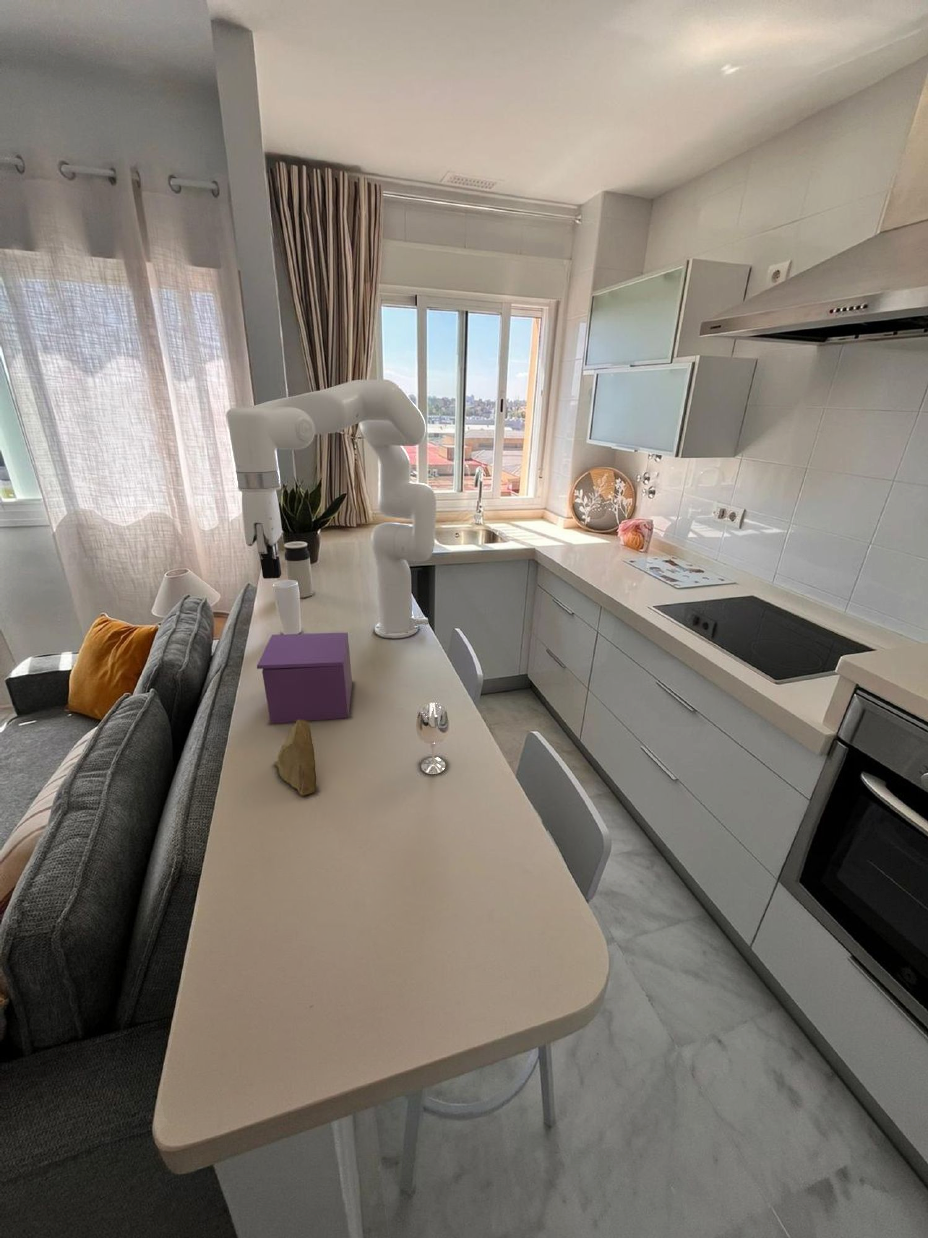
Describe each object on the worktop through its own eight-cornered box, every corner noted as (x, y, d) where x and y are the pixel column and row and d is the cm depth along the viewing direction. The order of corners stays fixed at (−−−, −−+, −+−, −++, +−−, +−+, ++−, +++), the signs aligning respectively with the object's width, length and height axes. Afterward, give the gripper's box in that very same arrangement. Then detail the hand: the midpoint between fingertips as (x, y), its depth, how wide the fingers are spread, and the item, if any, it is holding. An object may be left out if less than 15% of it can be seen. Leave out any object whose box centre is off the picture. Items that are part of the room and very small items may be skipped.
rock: (330, 785, 81) (336, 741, 90) (292, 757, 77) (301, 715, 86) (282, 816, 84) (292, 770, 92) (242, 791, 80) (257, 746, 88)
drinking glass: (296, 638, 139) (290, 588, 134) (274, 636, 141) (267, 586, 135) (308, 629, 146) (302, 580, 140) (287, 627, 147) (280, 578, 141)
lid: (257, 669, 96) (256, 665, 96) (272, 637, 110) (271, 634, 109) (343, 665, 99) (343, 662, 98) (347, 635, 112) (347, 632, 112)
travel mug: (309, 598, 169) (303, 547, 162) (286, 598, 169) (279, 546, 162) (316, 590, 176) (310, 541, 170) (294, 590, 177) (287, 541, 170)
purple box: (270, 723, 101) (261, 670, 97) (283, 687, 115) (276, 639, 110) (348, 718, 104) (343, 665, 99) (352, 683, 117) (348, 635, 112)
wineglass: (453, 759, 91) (453, 704, 87) (442, 779, 86) (441, 722, 82) (424, 753, 93) (423, 698, 89) (412, 772, 88) (410, 715, 83)
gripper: (247, 476, 96) (261, 567, 103) (224, 487, 83) (242, 590, 90) (287, 476, 97) (298, 565, 105) (271, 486, 84) (285, 588, 91)
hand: (272, 576), depth 97 cm, fingers closed
